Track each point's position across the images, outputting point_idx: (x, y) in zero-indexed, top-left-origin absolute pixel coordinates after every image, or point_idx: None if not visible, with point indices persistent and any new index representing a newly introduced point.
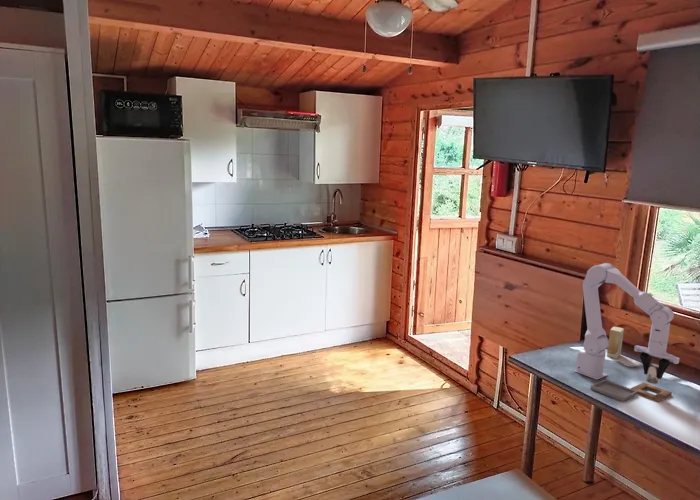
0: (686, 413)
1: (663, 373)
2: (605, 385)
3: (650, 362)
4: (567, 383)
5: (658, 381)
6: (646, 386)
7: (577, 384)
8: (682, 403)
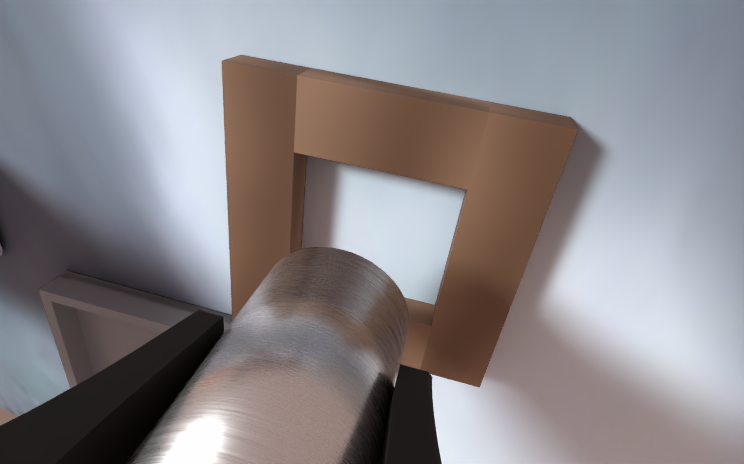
0: (717, 437)
1: (435, 445)
2: (105, 335)
3: (58, 462)
4: (6, 402)
5: (405, 338)
6: (296, 155)
7: (31, 386)
8: (699, 258)
